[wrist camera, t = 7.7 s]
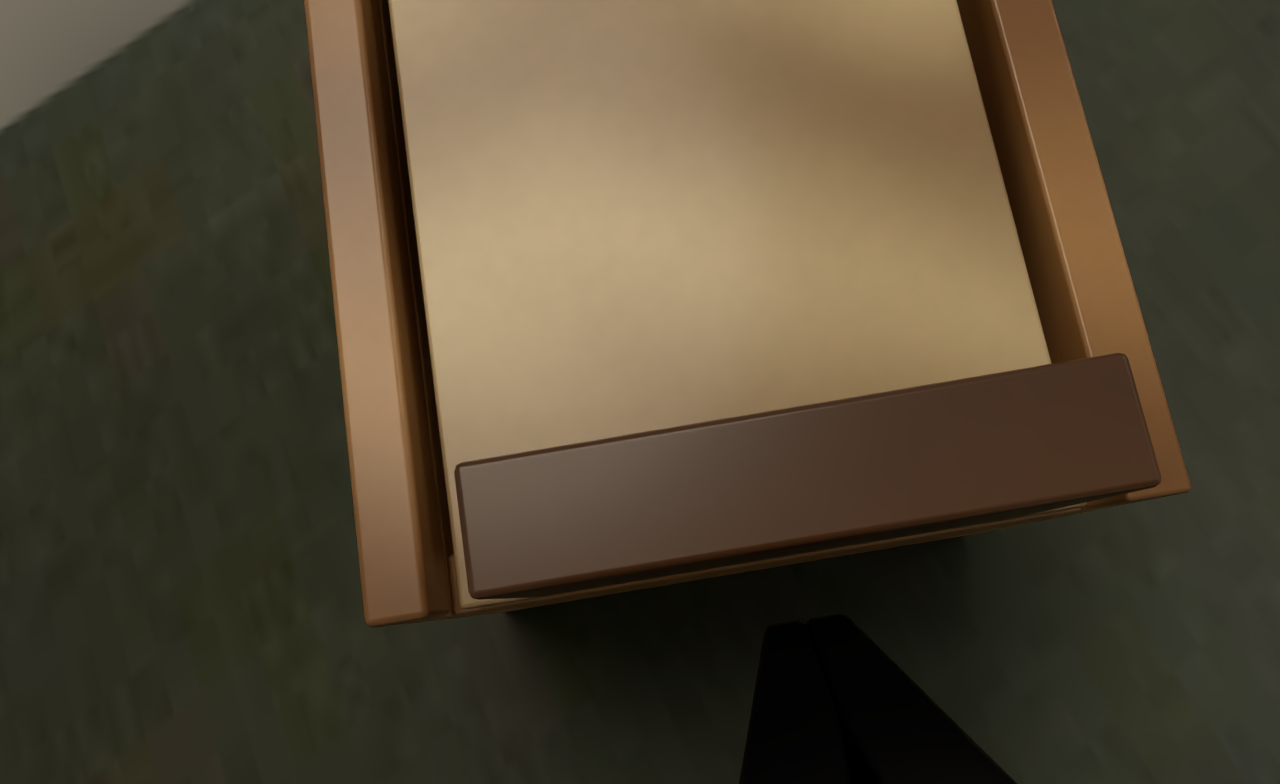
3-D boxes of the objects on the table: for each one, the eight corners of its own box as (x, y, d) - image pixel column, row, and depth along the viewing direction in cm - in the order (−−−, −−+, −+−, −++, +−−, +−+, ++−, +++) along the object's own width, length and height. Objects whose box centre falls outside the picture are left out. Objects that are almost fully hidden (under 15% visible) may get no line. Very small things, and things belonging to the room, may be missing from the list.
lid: (1067, 509, 12) (1272, 467, 8) (471, 609, 12) (362, 619, 8) (871, -256, 15) (948, -594, 11) (376, -172, 15) (257, -475, 11)
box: (964, 535, 20) (1195, 490, 11) (502, 612, 20) (362, 628, 11) (848, 37, 23) (960, -326, 14) (438, 106, 23) (280, -211, 14)
